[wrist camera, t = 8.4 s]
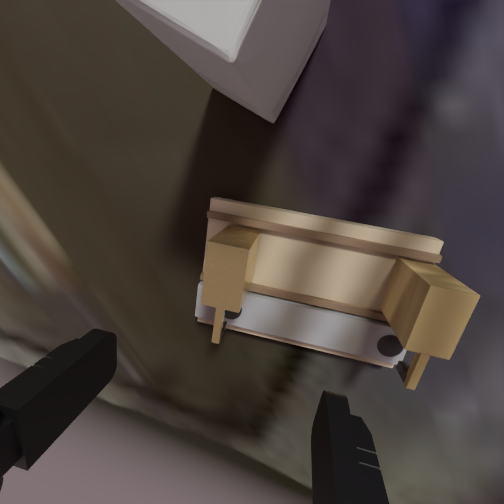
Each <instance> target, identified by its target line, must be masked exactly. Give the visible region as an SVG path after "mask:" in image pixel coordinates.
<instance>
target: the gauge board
mask: <svg viewBox="0 0 504 504" xmlns="http://www.w3.org/2000/svg"><path fill="white" fill-rule="evenodd" d="M207 218H209V219H208V228H207V238H206V247H205V256H204V265H203V272H202V273H201V275H200V280H202V281H201V282H200V283H199V284H198V292H197V301H196V311H195V316H196V317H198V320H197V321H199V322H203V323H207V324H211V325H214V320H215V312H216V308H215V307H211V306H207V305H202V304H201V295H202V286H203V277H204V268H205V259H206V250H207V241H208V240H210V239H211V238H212V237H214V236H215V235H216V234H217V233H219V232H220V231H221V230H223V229H224V228H225V227H226V226H228V225H233V226H239V227H244V228H249V229H254V230H259V231H261V235H260V241H259V246H258V252H257V258H256V264H255V269H254V275H253V281H252V283H251V286H250V288H249V291H248V293H247V295H246V298H245V300H244V302H243V305H242V307H241V310H240V312H239V313H237V312H232V311H228V310H225V315H224V321H226V322H227V328H228V329H232V330H236V331H240V332H244V333H248V334H253V335H257V336H261V337H265V338H269V339H273V340H277V341H282V342H286V343H290V344H294V345H298V346H302V347H306V348H310V349H315V350H319V351H323V352H327V353H331V354H335V355H339V356H344V357H348V358H352V359H356V360H360V361H364V362H368V363H373V364H377V365H381V366H385V367H389V368H393V366H394V364H396V365H397V366H396V369H397V371H398V373H399V375H400V377H401V379H402V381H403V383H404V385H405V387H406V388H408V389H412V390H415V388H416V386H417V384H418V381H419V379H420V377H421V375H422V373H423V370H424V368H425V366H426V364H427V362H428V359H429V357H430V355H431V356H435V357H439V358H444V359H448V360H450V358H451V356H452V354H453V352H454V350H455V347H456V345H457V343H458V341H459V339H460V337H461V335H462V333H463V331H464V329H465V327H466V325H467V323H468V321H469V318H470V316H471V314H472V312H473V310H474V308H475V306H476V304H477V302H478V300H479V298H480V295H479V294H477V293H476V292H474V291H473V290H471V289H470V288H468V287H467V286H465V285H464V284H463V283H461V282H460V281H458V280H457V279H455V278H454V277H452V276H451V275H450V274H448V273H447V272H445V271H444V270H442V269H441V268H439V267H438V266H437V265H435V263H440V261H441V259H442V256H441V255H439V253H440V250H441V248H442V245H443V243H444V242H443V241H441V240H439V239H437V238H435V237H430V236H425V235H419V234H414V233H408V232H403V231H398V230H392V229H387V228H381V227H376V226H371V225H365V224H360V223H355V222H349V221H344V220H338V219H333V218H328V217H322V216H317V215H312V214H306V213H301V212H295V211H290V210H285V209H279V208H274V207H268V206H263V205H258V204H252V203H247V202H242V201H236V200H231V199H225V198H220V197H213V198H211V201H210V210H209V211H207ZM407 350H409V351H414V352H416V353H415V356H414V358H413V360H412V363H411V365H410V366H409V364H408V363H407V362H403V361H402V360H403V358H404V356H405V353H406V351H407Z"/></svg>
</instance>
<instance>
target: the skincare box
mask: <svg viewBox="0 0 504 504" xmlns="http://www.w3.org/2000/svg"><path fill="white" fill-rule="evenodd" d="M116 1H117V2H118V3H119V4H120V5H121V6H122V7H124V8H125V9H126V10H127V11H128V12H129V13H130V14H131V15H133V16H134V17H135V18H136V19H137V20H138V21H139V22H140V23H142V24H143V25H144V26H145V27H146V28H147V29H148V30H149V31H151V32H152V33H153V34H154V35H155V36H156V37H157V38H158V39H160V40H161V41H162V42H163V43H164V44H165V45H166V46H167V47H169V48H170V49H171V50H172V51H173V52H174V53H175V54H176V55H178V56H179V57H180V58H181V59H182V60H183V61H184V62H185V63H186V64H188V65H189V66H190V67H191V68H192V69H193V70H194V71H195V72H197V73H198V74H199V75H200V76H201V77H202V78H203V79H204V80H205V81H207V82H208V83H209V84H210V85H211V86H212V87H213V88H214V89H216V90H218V91H219V92H221V93H222V94H224V95H226V96H227V97H229V98H230V99H232V100H234V101H235V102H237V103H239V104H240V105H242V106H244V107H245V108H247V109H249V110H250V111H252V112H254V113H255V114H257V115H259V116H261V117H262V118H264V119H266V120H267V121H269V122H271V123H274V122H275V121H276V119H277V117H278V116H279V114H280V112H281V110H282V108H283V106H284V105H285V103H286V101H287V99H288V97H289V95H290V93H291V91H292V90H293V88H294V86H295V84H296V82H297V80H298V78H299V76H300V74H301V73H302V71H303V69H304V67H305V65H306V63H307V61H308V59H309V57H310V55H311V54H312V52H313V50H314V48H315V46H316V44H317V42H318V40H319V38H320V36H321V34H322V32H323V30H324V28H325V26H326V21H327V15H328V10H329V5H330V0H116Z"/></svg>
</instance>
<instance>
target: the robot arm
mask: <svg viewBox="0 0 504 504" xmlns="http://www.w3.org/2000/svg"><path fill="white" fill-rule="evenodd" d="M116 367H117V339H116V335H115V334H114V333H111V332H107V331H104V330H100V329H93V330H91V331H90V332H88V333H87V334H86V335H84V336H83V337H82V338H80V339H77V338H76V339H74V340H72V341H69V342H67V343H65V344H62V345H60V346H59V347H57V348H56V349H54V350H53V351H52V352H50V353H49V354H47V355H46V357H45V358H44V357H43V358H42V359H40V360H39V361H38V362H36V363H35V364H34V366H31V367H29V368H28V369H26V370H25V371H24V372H22V373H21V374H19V375H18V376H17V377H15V378H14V379H13V380H11V381H10V382H8V383H7V384H5V385H4V386H3V387H1V388H0V491H1V487H2V484H3V475H4V474H5V473H6V472H7V471H8V470H9V469H10V468H11V467H12V466H16V467H19V468H21V469H24V470H28V469H29V468H30V467H31V466H32V465H33V464H34V463H35V462H36V461H37V459H39V458H40V456H41V455H42V454H43V453H44V452H45V451H46V450H47V449H48V448H49V447H50V446H51V445H52V443H53V442H54V441H55V440H56V439H57V438H58V437H59V436H60V435H61V434H62V433H63V432H64V431H65V429H66V428H67V427H68V426H69V425H70V424H71V423H72V422H73V421H74V420H75V419H76V418H77V416H78V415H79V414H80V413H81V412H82V411H83V410H84V409H85V408H86V407H87V405H88V404H89V403H90V402H91V401H92V400H93V399H94V398H95V397H96V396H97V395H98V394H99V393H100V392H101V390H102V389H103V388H104V387H105V386H106V385H107V384H108V383H109V382H110V380H111V379H112V377H113V375H114V373H115V371H116ZM311 457H312V494H313V495H312V497H313V504H389V501H388V497H387V493H386V489H385V486H384V482H383V478H382V474H381V471H380V469H379V468H380V466H379V462H378V458H377V455H376V450H375V446H374V442H373V439H372V435H371V433H370V431H369V429H368V428H367V426H366V424H365V423H364V421H363V420H362V418H361V417H358V416H354V415H351V414H350V409H349V404H348V399H347V397H346V396H345V395H341V394H337V393H333V392H330V391H326V390H324V391H323V393H322V396H321V399H320V402H319V405H318V409H317V412H316V415H315V418H314V422H313V427H312V435H311Z"/></svg>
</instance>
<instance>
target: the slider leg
mask: <svg viewBox="0 0 504 504" xmlns="http://www.w3.org/2000/svg"><path fill="white" fill-rule="evenodd" d="M260 235H261V231H259V230H254V229H249V228H244V227H239V226H233V225H228V226H226V227H225V228H224V229H223V230H221V231H220V232H219V233H217V234H216V235H215V236H214V237H212V238H211V239H210V240H208V241H207V250H206V259H205V268H204V277H203V286H202V295H201V304H202V305H207V306H211V307H215V308H216V312H215V320H214V327H213V335H212V342H213V343H217V344H219V343H220V340H221V339H222V337H223V335H224V333H225V331H226V328H227V322H226V321H224V315H225V310H228V311H232V312H237V313H239V312H240V310H241V307H242V305H243V302H244V300H245V298H246V295H247V293H248V291H249V288H250V286H251V283H252V281H253V275H254V269H255V264H256V258H257V252H258V246H259V241H260Z"/></svg>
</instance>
